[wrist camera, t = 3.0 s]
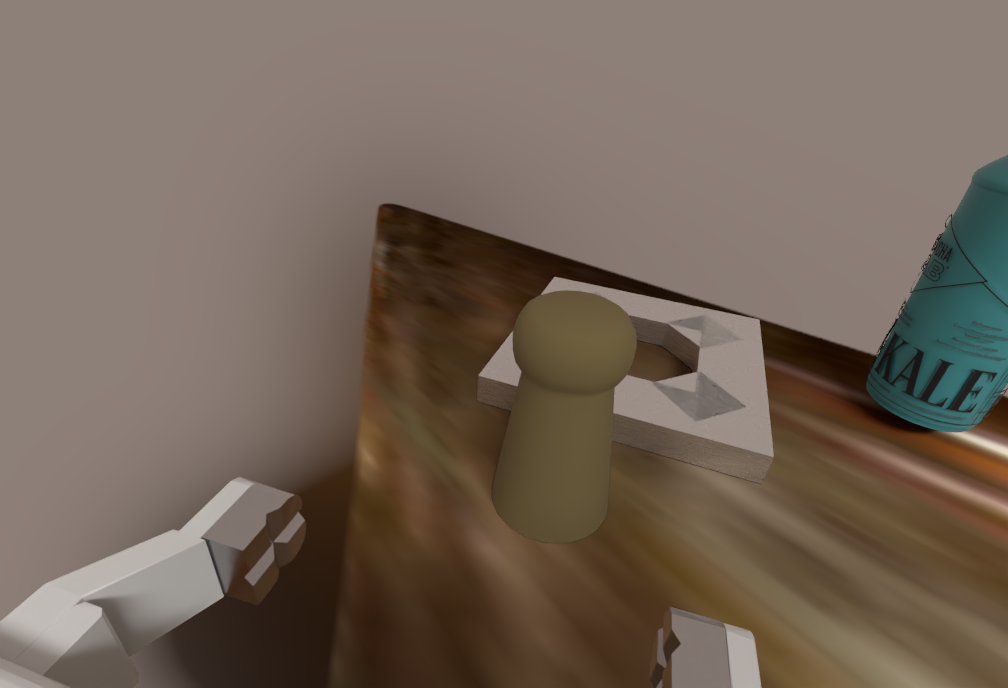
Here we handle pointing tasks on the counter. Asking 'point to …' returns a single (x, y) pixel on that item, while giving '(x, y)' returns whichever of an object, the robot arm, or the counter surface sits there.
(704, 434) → the jig plate
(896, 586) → the counter surface
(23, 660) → the robot arm
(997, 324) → the beverage bottle
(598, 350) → the olive peg doll
